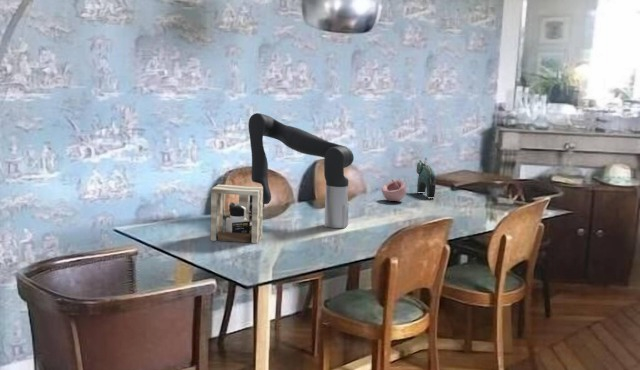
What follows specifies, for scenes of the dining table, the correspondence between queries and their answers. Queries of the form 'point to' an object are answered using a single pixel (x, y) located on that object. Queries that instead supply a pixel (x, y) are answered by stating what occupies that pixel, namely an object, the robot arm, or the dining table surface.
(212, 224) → the bridge
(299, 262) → the dining table surface
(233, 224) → the medicine bottle
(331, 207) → the robot arm
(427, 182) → the green elephant figurine
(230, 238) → the wooden base display case
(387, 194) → the mortar and pestle
